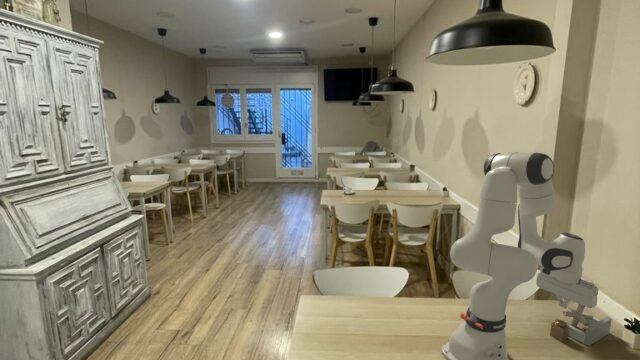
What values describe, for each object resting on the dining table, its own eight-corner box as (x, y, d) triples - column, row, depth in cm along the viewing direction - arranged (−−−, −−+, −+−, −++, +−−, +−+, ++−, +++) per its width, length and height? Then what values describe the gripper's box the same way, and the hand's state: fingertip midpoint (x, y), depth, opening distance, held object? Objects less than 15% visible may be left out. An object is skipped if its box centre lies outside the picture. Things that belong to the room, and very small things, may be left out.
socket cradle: (588, 346, 121) (591, 330, 120) (554, 328, 131) (555, 314, 130) (609, 333, 128) (611, 318, 127) (575, 317, 138) (577, 303, 137)
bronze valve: (561, 341, 124) (563, 327, 123) (549, 335, 127) (551, 321, 126) (567, 338, 126) (569, 323, 125) (556, 332, 129) (557, 318, 128)
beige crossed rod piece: (579, 318, 137) (587, 297, 134) (596, 337, 127) (605, 315, 124) (553, 315, 137) (560, 294, 134) (568, 333, 128) (576, 311, 125)
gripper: (603, 283, 125) (598, 317, 128) (544, 262, 142) (541, 293, 145) (594, 288, 122) (589, 322, 125) (535, 266, 139) (532, 297, 142)
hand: (562, 306), depth 135 cm, fingers closed
